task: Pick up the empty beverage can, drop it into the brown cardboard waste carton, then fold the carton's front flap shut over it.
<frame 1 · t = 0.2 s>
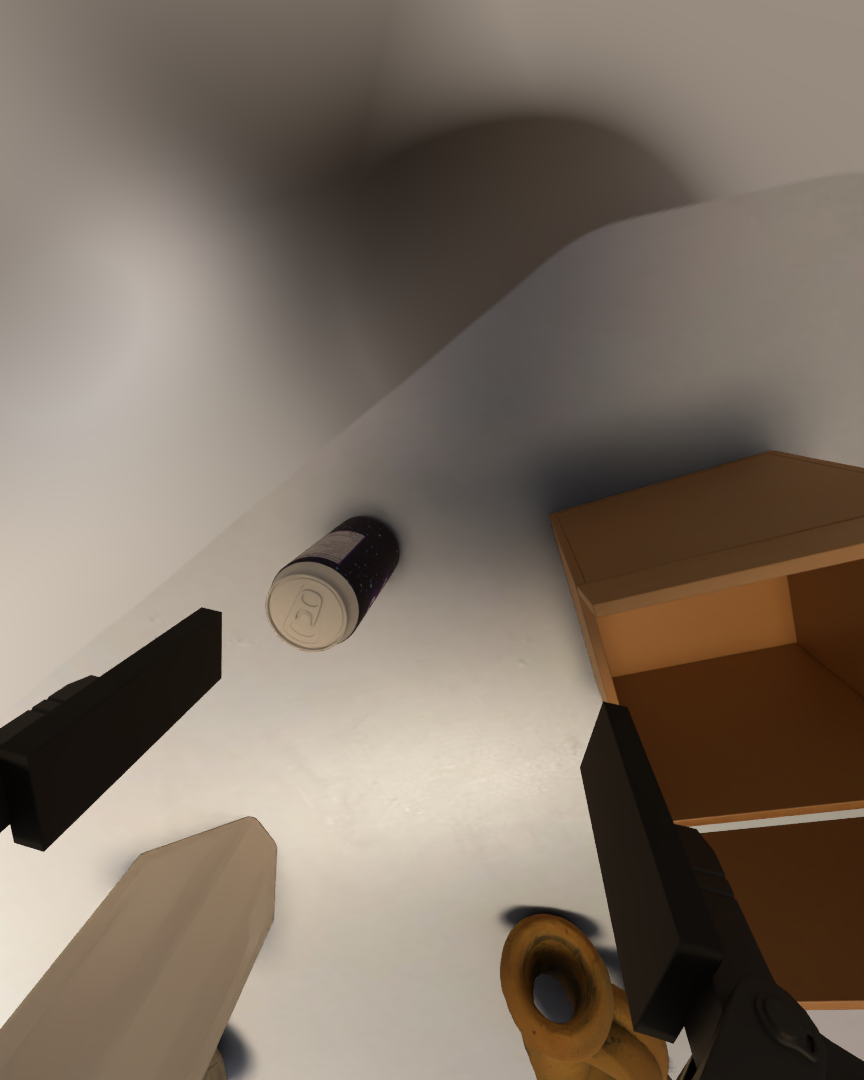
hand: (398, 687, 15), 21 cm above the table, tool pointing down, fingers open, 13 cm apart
bowl: (188, 1031, 64), on the table
beverage can: (368, 546, 36), on the table
carton: (674, 578, 33), on the table
flap: (816, 544, 14), point 18 cm above the table, hinge at 110.0°
tall recessed triangular prism: (230, 880, 52), on the table
brown looped sculpture: (589, 986, 48), on the table
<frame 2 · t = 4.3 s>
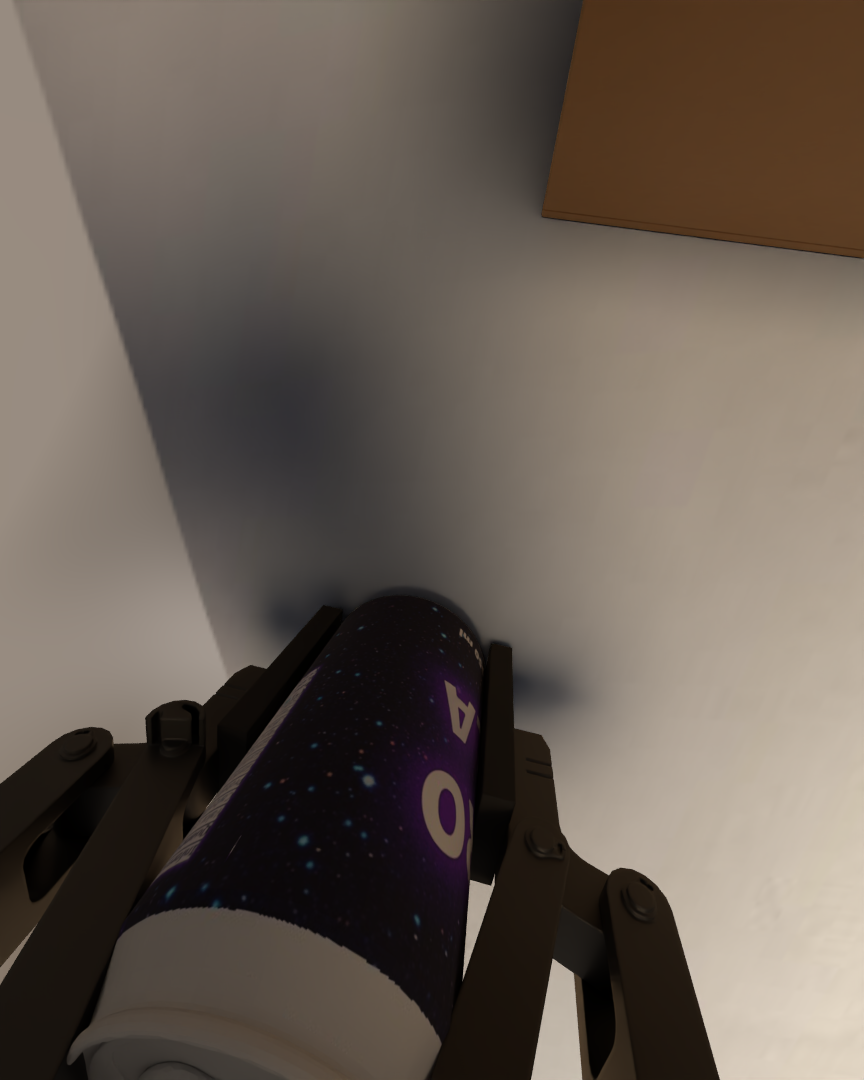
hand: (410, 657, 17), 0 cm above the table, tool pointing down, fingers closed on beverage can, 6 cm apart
beverage can: (412, 650, 17), on the table, touching gripper
when the fingers open (16 cm above the table, at t = 11.3 s): beverage can drops 15 cm, resting on carton.
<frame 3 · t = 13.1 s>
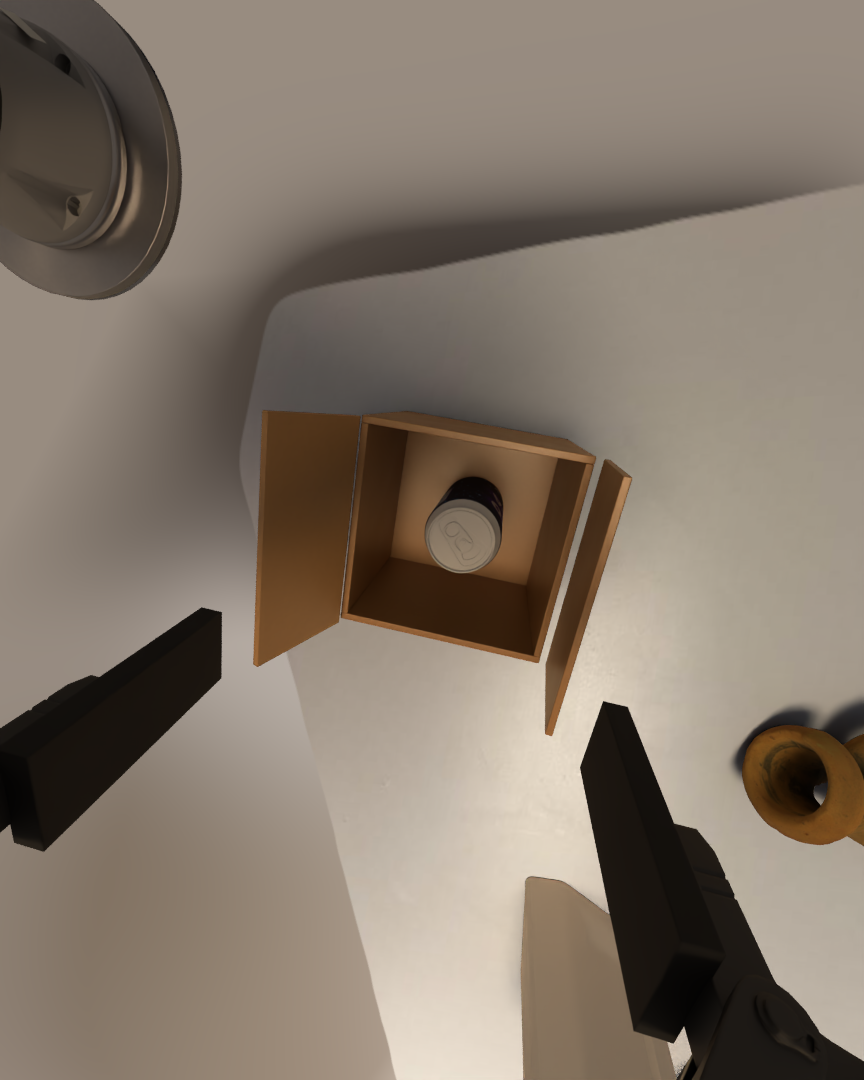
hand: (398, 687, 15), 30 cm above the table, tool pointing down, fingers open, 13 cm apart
beverage can: (473, 504, 43), resting on carton
carton: (470, 503, 43), on the table
flap: (308, 537, 27), point 18 cm above the table, hinge at 110.0°
tall recessed triangular prism: (580, 935, 58), on the table
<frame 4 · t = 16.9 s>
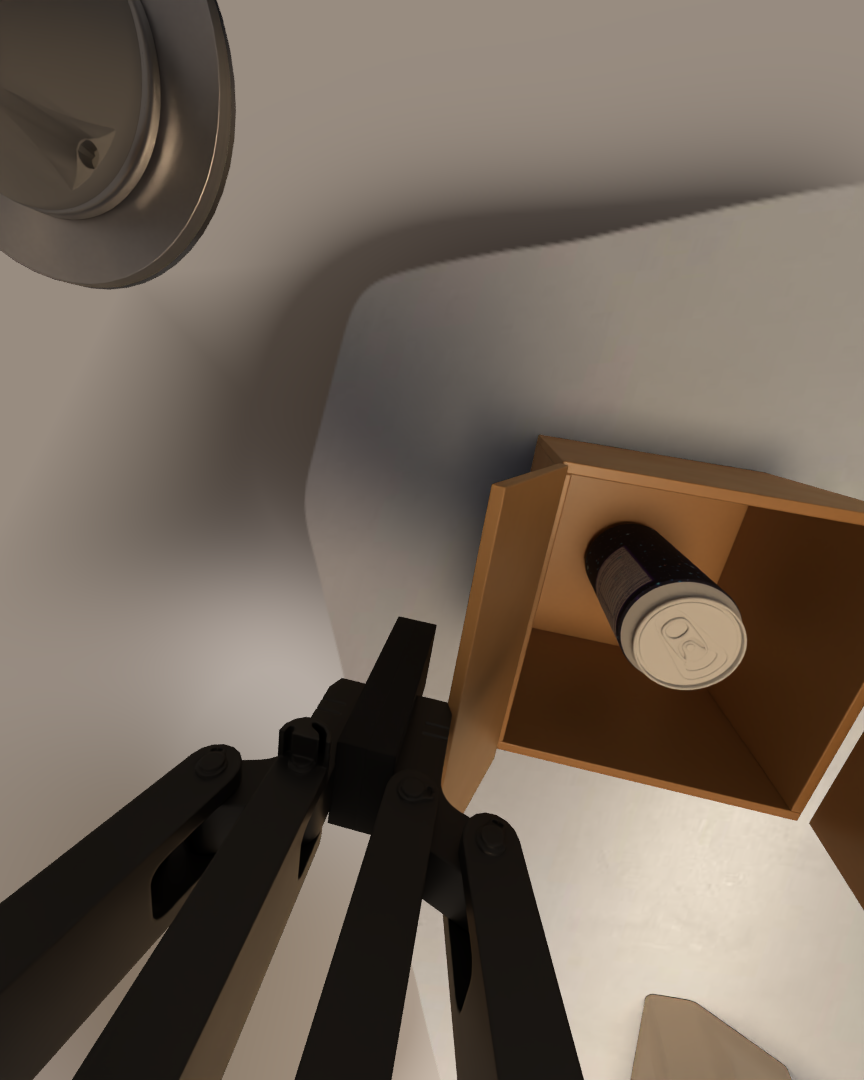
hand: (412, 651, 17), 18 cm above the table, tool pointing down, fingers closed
beverage can: (623, 556, 32), resting on carton
carton: (617, 555, 32), on the table
flap: (493, 666, 17), point 18 cm above the table, hinge at 109.9°, touching gripper
tall recessed triangular prism: (708, 1059, 48), on the table
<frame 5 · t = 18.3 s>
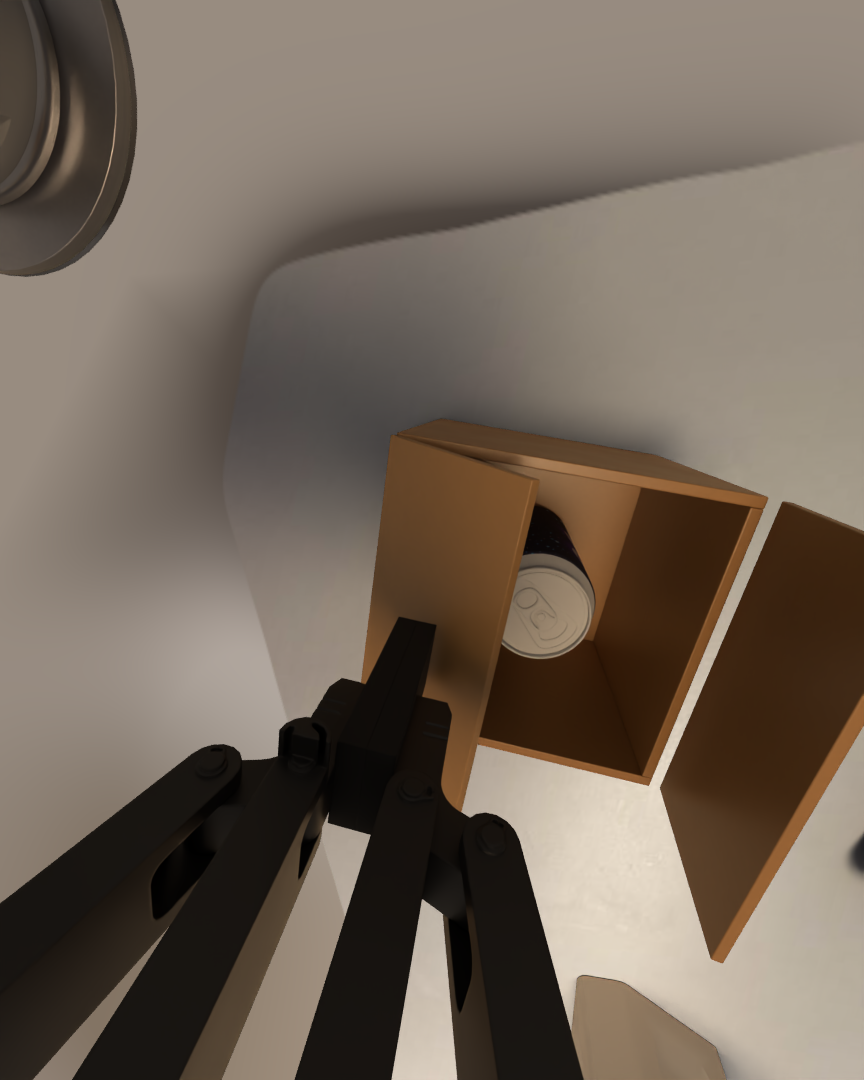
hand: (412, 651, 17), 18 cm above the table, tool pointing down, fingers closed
beverage can: (527, 538, 33), resting on carton
carton: (522, 537, 33), on the table
flap: (423, 636, 18), point 17 cm above the table, hinge at 41.5°, touching gripper
tall recessed triangular prism: (641, 1040, 48), on the table
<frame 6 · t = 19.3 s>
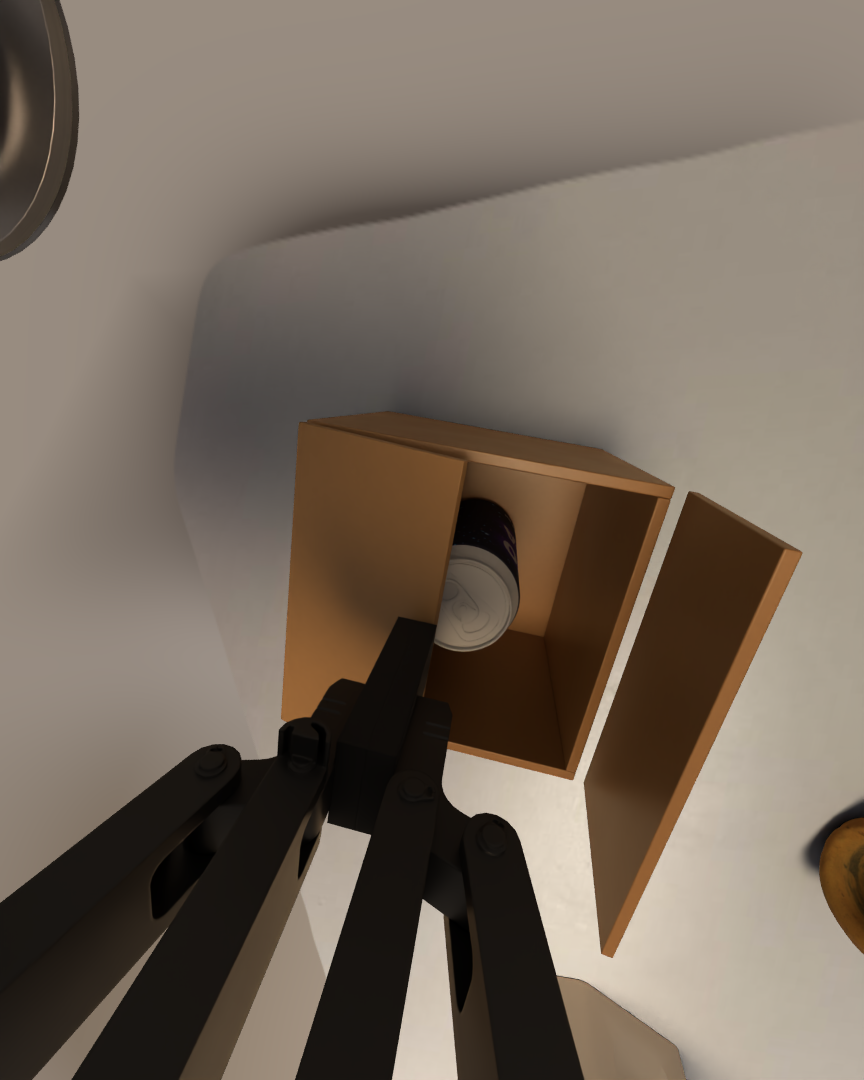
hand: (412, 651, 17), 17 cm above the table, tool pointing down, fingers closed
beverage can: (476, 533, 32), resting on carton
carton: (471, 531, 33), on the table
flap: (356, 615, 19), point 15 cm above the table, hinge at 18.4°
tall recessed triangular prism: (603, 1040, 48), on the table
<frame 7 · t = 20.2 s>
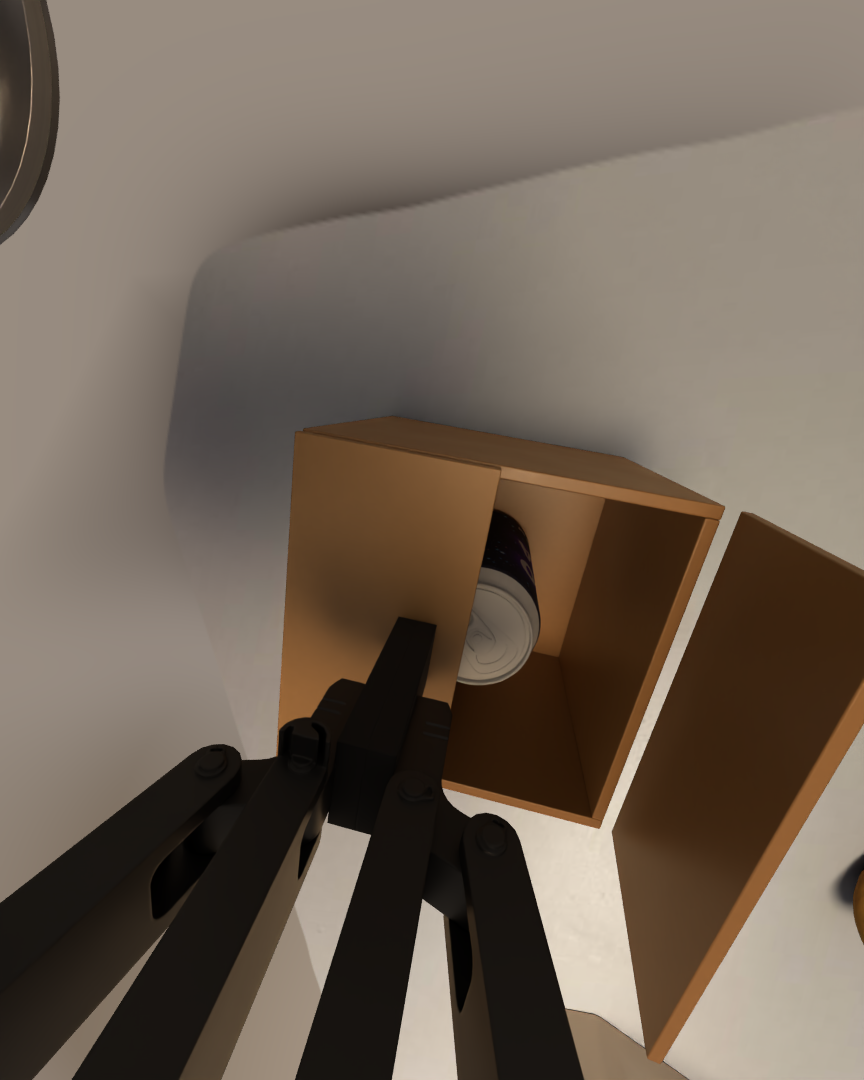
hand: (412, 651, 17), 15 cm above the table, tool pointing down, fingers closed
beverage can: (486, 546, 30), resting on carton
carton: (481, 544, 31), on the table
flap: (372, 635, 18), point 14 cm above the table, hinge at 0.6°, touching gripper
tall recessed triangular prism: (617, 1075, 46), on the table
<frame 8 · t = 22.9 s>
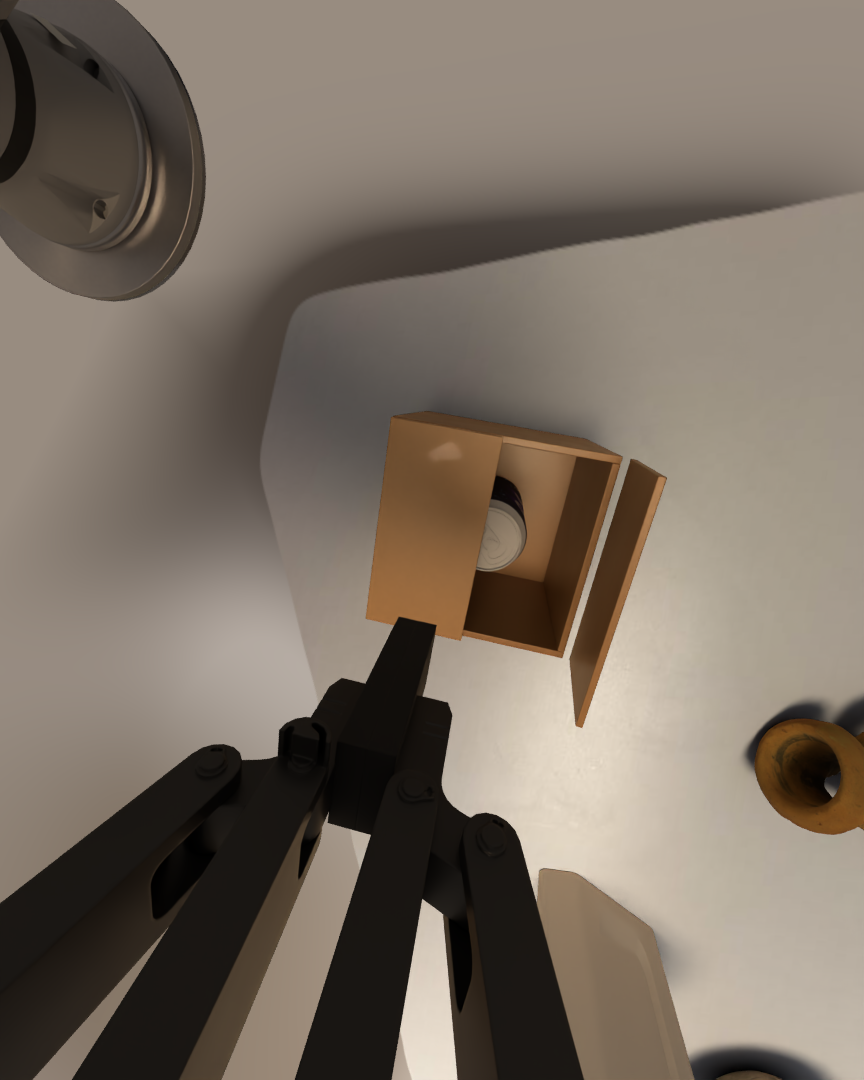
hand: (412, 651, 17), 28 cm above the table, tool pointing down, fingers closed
beverage can: (492, 502, 43), resting on carton
carton: (489, 501, 44), on the table
flap: (428, 535, 31), point 14 cm above the table, hinge at 0.6°
tall recessed triangular prism: (592, 926, 59), on the table
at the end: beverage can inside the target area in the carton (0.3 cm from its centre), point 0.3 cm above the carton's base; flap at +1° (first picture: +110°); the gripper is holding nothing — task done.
